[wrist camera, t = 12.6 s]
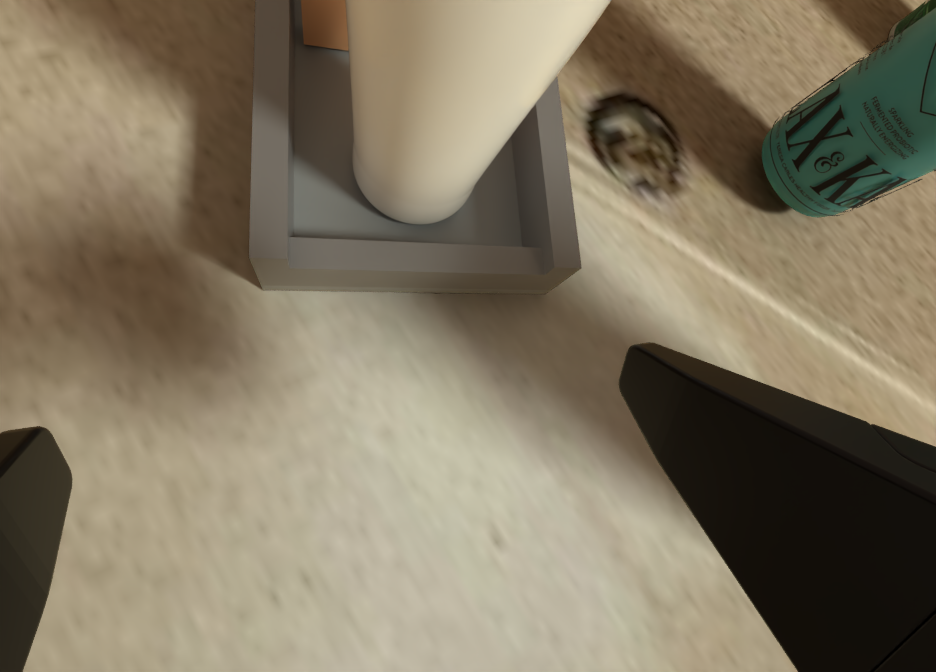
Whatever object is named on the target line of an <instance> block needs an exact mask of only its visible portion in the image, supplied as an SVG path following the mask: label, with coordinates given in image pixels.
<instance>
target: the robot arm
mask: <svg viewBox="0 0 936 672" xmlns="http://www.w3.org/2000/svg"><path fill="white" fill-rule="evenodd" d="M619 389H620V392H621V394H622V396H623V398H624V400H625V402H626V404H627V406H628V407H629V409H630V411H631V413H632V415H633V417H634V419H635V420H636V422H637V424H638V426H639V428H640V430H641V432H642V434H643V435H644V437H645V439H646V441H647V443H648V445H649V447H650V449H651V450H652V452H653V454H654V456H655V457H656V459H657V461H658V462H659V464H660V466H661V467H662V469H663V470H664V472H665V473H666V475H667V476H668V478H669V479H670V481H671V482H672V484H673V485H674V487H675V488H676V490H677V491H678V493H679V494H680V496H681V497H682V499H683V500H684V502H685V503H686V505H687V506H688V508H689V509H690V511H691V512H692V514H693V515H694V517H695V518H696V520H697V521H698V523H699V524H700V526H701V527H702V529H703V530H704V532H705V533H706V535H707V536H708V538H709V539H710V541H711V542H712V544H713V545H714V547H715V548H716V550H717V551H718V553H719V554H720V556H721V557H722V559H723V560H724V562H725V563H726V565H727V566H728V568H729V569H730V571H731V572H732V574H733V575H734V577H735V578H736V580H737V581H738V583H739V584H740V586H741V587H742V589H743V590H744V592H745V593H746V595H747V596H748V598H749V599H750V601H751V602H752V604H753V605H754V607H755V608H756V610H757V611H758V613H759V614H760V616H761V617H762V619H763V620H764V622H765V623H766V625H767V626H768V628H769V629H770V631H771V632H772V634H773V635H774V637H775V638H776V640H777V641H778V642H779V644H780V645H781V647H782V648H783V650H784V651H785V653H786V654H787V656H788V657H789V659H790V660H791V662H792V663H793V665H794V666H795V668H796V669H797V671H798V672H936V447H935V446H932V445H929V444H927V443H924V442H921V441H918V440H915V439H913V438H910V437H907V436H904V435H902V434H899V433H896V432H893V431H891V430H888V429H885V428H883V427H880V426H877V425H874V424H871V425H870V424H869V423H868V422H866V421H863V420H861V419H858V418H855V417H853V416H850V415H847V414H845V413H842V412H839V411H836V410H834V409H831V408H828V407H826V406H823V405H820V404H817V403H815V402H812V401H809V400H807V399H804V398H801V397H799V396H796V395H793V394H790V393H788V392H785V391H782V390H780V389H777V388H774V387H772V386H769V385H766V384H763V383H761V382H758V381H755V380H753V379H750V378H747V377H745V376H742V375H739V374H736V373H734V372H731V371H728V370H726V369H723V368H720V367H718V366H715V365H712V364H709V363H707V362H704V361H701V360H699V359H696V358H693V357H690V356H688V355H685V354H682V353H680V352H677V351H674V350H672V349H669V348H666V347H663V346H661V345H658V344H655V343H642V344H635V345H633V346H631V347H630V348H629V349H628V351H627V354H626V358H625V361H624V364H623V368H622V371H621V375H620V378H619ZM71 489H72V474H71V470H70V468H69V466H68V464H67V462H66V460H65V458H64V456H63V454H62V452H61V451H60V449H59V447H58V445H57V443H56V441H55V439H54V437H53V435H52V434H51V433H50V431H49V430H48V429H46V428H44V427H40V426H37V427H29V428H22V429H15V430H8V431H5V432H2V433H0V672H23V669H24V666H25V663H26V660H27V657H28V655H29V652H30V649H31V646H32V643H33V640H34V637H35V634H36V631H37V628H38V626H39V623H40V620H41V617H42V614H43V611H44V607H45V604H46V601H47V598H48V594H49V590H50V586H51V582H52V578H53V573H54V569H55V564H56V559H57V555H58V550H59V545H60V540H61V536H62V531H63V526H64V522H65V517H66V512H67V508H68V503H69V498H70V493H71Z"/></svg>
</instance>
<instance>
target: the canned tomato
mask: <svg viewBox="0 0 936 672" xmlns="http://www.w3.org/2000/svg"><path fill="white" fill-rule="evenodd" d="M935 8H936V0H927V1H926V2H924V3H923V4H922V5H920V6H919V7H918V8H917V9H915V10H914V11H913V12H912V13H910V14H909V15H908V16H906V17H905V18H903V19H902V20H900V21H899V22H897V23H896V24H895V25H894V26H893V27H892V29H891V31H890V34H889V37H890V38H889V41H890V40H892V39H893V37H891V35H892V36H895V34H896V32H897V31H898V30H899V31H898V32H897V33H898V34H900V33H901V30H902V29H903V28H904V27H903V26H905V25H908V24H912V23H913V22H912V20H914V19H915V18H916V17H917V16H918V17H917V18H918V19H917V20H914V23H915V22H917V21H918V20H919V19H920V18H921V17H924V16H925V15H926V14H928V13H929V12H931V11H932V10H933V9H935ZM920 14H921V15H920ZM919 17H920V18H919ZM910 21H911V22H912V23H911V22H910ZM912 25H913V24H912ZM909 26H911V25H908V26H905V28H904V30H906V29H907V28H908V27H909ZM902 27H903V28H902ZM898 34H897V35H898ZM897 35H896V36H897ZM896 36H895V37H896Z"/></svg>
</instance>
